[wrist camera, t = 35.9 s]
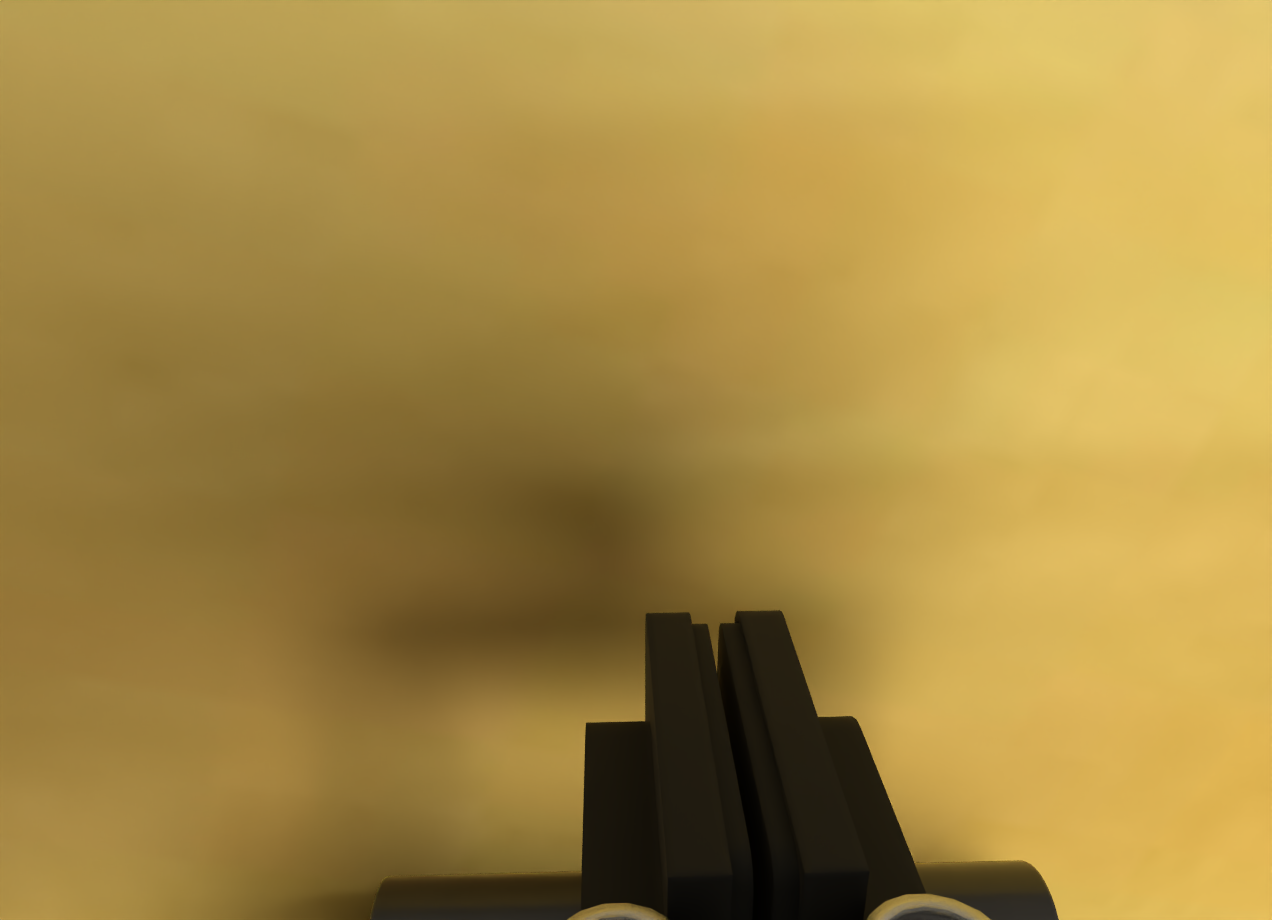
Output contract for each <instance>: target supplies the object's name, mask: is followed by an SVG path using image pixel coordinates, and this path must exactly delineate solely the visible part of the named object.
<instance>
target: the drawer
mask: <svg viewBox="0 0 1272 920" xmlns="http://www.w3.org/2000/svg"><path fill="white" fill-rule="evenodd" d="M915 866H916V868H917V871H918V874H919V876H920V879H921V881H922V884H923V886H924V889H925V891H926V894H933V895H937V896H942V897H946V898H951V899H955V900H957V901H959V902H962V903H964V904H966V905H968V906H970V907H972V908H974V909H976V910H979V911H980V912H982V913H983V914H984V915H986V916H987V917H988V918H990V919H991V920H1059V919H1058V916H1057V912H1056V908H1055V905H1054V902H1053V899H1052V897H1051V894H1050V892H1049V889H1048V887H1047V885H1046V883H1045V881H1044V880H1043V878H1042V876H1041V875H1040V874H1039V872H1038V871H1037V870H1036V869H1035V868H1034V867H1033V866H1032V865H1031V864H1029V863H1027V862H1025V861H983V862H942V863H915ZM581 881H582V871H573V872H531V873H490V874H449V875H408V876H388V877H386V878H384V879H383V880H382V881H381V883H380V885H379V887H378V890H377V893H376V895H375V899H374V902H373V906H372V910H371V915H370V920H567V919H569V918H570V917H572V916H573V915H575V914H576V913H578V912H579V911H581Z"/></svg>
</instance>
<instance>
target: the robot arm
mask: <svg viewBox="0 0 1272 920" xmlns="http://www.w3.org/2000/svg"><path fill="white" fill-rule="evenodd" d="M567 920H991V919H990V918H988V917H987V916H986V915H984V914H983V913H982V912H980V911H979V910H976V909H974V908H972V907H970V906H968V905H966V904H964V903H962V902H959V901H957V900H955V899H951V898H946V897H942V896H937V895H933V894H926V891H925V889H924V886H923V884H922V881H921V879H920V876H919V874H918V871H917V868H916V866H915V863H914V861H913V858H912V856H911V853H910V851H909V848H908V846H907V843H906V841H905V838H904V836H903V833H902V831H901V828H900V826H899V823H898V821H897V818H896V816H895V813H894V811H893V808H892V805H891V803H890V800H889V798H888V795H887V793H886V790H885V788H884V785H883V783H882V780H881V778H880V775H879V773H878V770H877V768H876V765H875V763H874V760H873V758H872V755H871V753H870V750H869V748H868V745H867V742H866V740H865V737H864V735H863V732H862V730H861V728H860V726H859V724H858V722H857V720H856V719H855V718H853V717H852V716H843V717H818V716H817V713H816V710H815V707H814V704H813V701H812V698H811V695H810V692H809V689H808V686H807V683H806V680H805V677H804V674H803V671H802V668H801V666H800V663H799V660H798V657H797V654H796V651H795V648H794V645H793V642H792V639H791V636H790V633H789V630H788V627H787V624H786V621H785V618H784V615H783V613H782V611H780V610H779V611H737V612H736V615H735V622H734V623H721V624H720V626H719V639H718V665H717V671H716V666H715V660H714V655H713V650H712V645H711V640H710V634H709V629H708V625H707V624H692V622H691V616H690V613H689V612H684V613H646V621H645V721H639V722H599V723H586V735H585V771H584V808H583V845H582V881H581V911H579V912H578V913H576V914H575V915H573V916H572V917H570V918H569V919H567Z"/></svg>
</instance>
